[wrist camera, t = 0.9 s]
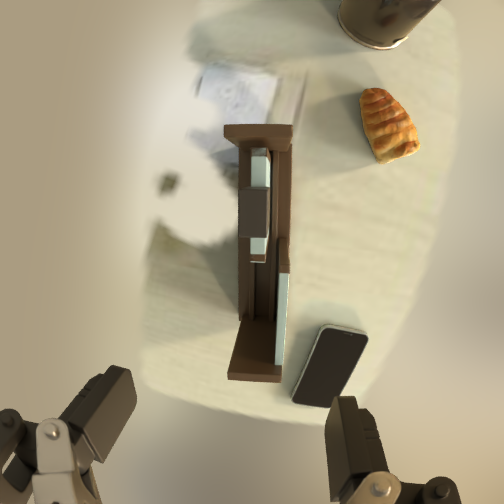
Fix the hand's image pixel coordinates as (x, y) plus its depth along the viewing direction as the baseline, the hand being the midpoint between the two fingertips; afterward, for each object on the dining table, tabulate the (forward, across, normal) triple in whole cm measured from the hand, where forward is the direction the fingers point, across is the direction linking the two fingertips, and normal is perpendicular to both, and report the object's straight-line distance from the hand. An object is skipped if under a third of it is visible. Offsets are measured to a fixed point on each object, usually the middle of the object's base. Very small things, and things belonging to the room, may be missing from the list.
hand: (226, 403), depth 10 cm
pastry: (+27, -14, -15) cm, 34 cm away
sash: (+25, 0, -5) cm, 25 cm away
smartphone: (+26, -11, +18) cm, 34 cm away
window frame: (+27, 0, 0) cm, 27 cm away
